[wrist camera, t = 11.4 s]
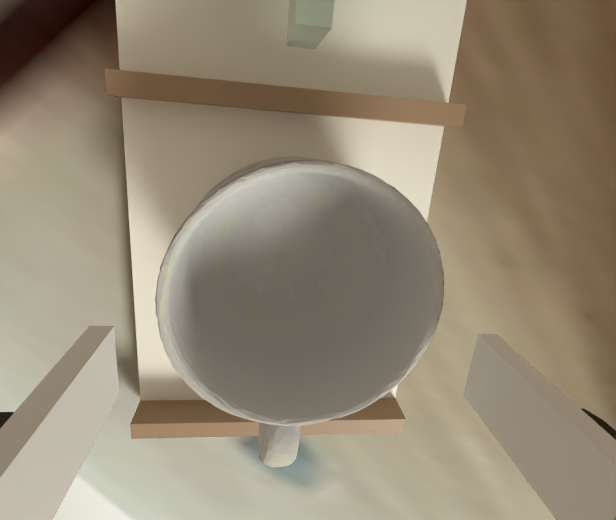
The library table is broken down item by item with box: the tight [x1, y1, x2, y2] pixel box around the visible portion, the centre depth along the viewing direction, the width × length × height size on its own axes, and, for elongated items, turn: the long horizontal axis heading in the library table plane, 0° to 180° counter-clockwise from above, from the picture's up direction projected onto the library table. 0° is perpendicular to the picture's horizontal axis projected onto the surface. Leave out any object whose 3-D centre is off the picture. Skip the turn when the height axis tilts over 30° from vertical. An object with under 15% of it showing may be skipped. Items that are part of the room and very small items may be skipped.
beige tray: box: [104, 0, 467, 439], centre depth 19 cm, size 16×37×3 cm, turn 175°
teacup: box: [155, 157, 444, 467], centre depth 19 cm, size 14×11×8 cm
